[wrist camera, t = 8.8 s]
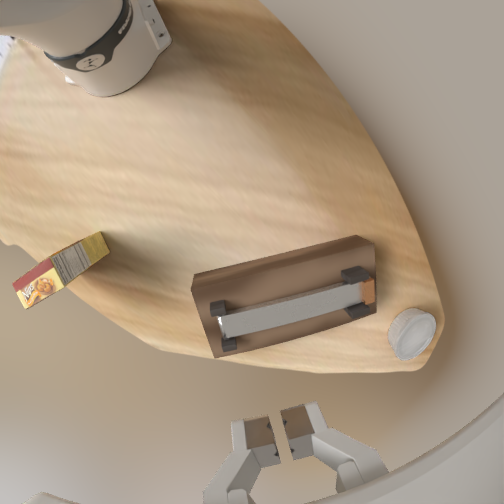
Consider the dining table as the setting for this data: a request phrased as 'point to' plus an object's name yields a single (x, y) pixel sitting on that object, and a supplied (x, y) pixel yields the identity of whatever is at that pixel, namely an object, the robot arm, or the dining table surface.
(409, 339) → the ramekin
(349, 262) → the base
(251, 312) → the clamp bar
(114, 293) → the dining table surface
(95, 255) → the candy box
